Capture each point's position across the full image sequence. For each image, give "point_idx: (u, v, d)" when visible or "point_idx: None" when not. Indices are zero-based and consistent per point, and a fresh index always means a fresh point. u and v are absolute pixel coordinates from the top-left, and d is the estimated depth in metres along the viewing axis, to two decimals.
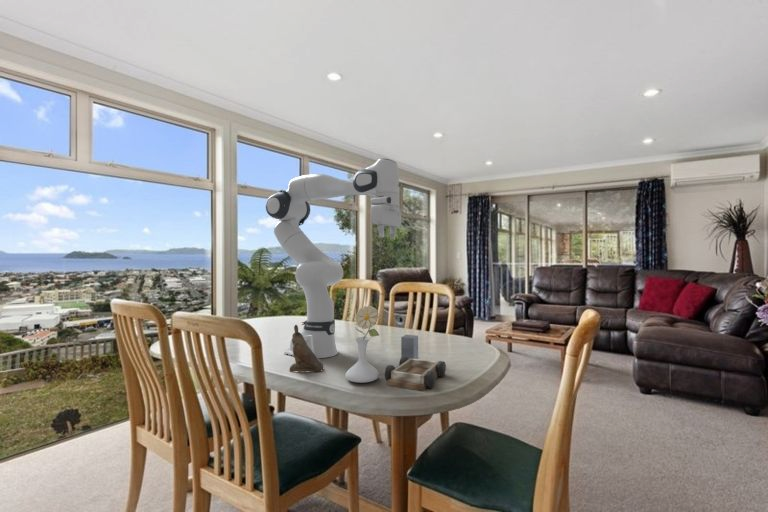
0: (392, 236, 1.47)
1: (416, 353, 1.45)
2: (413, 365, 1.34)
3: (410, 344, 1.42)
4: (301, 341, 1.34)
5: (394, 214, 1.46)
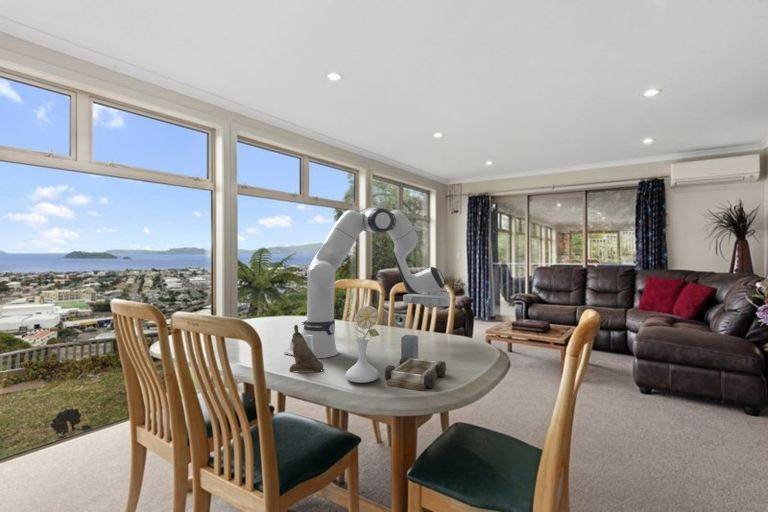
0: (412, 301, 1.58)
1: (416, 353, 1.45)
2: (413, 365, 1.34)
3: (410, 344, 1.42)
4: (301, 341, 1.34)
5: None
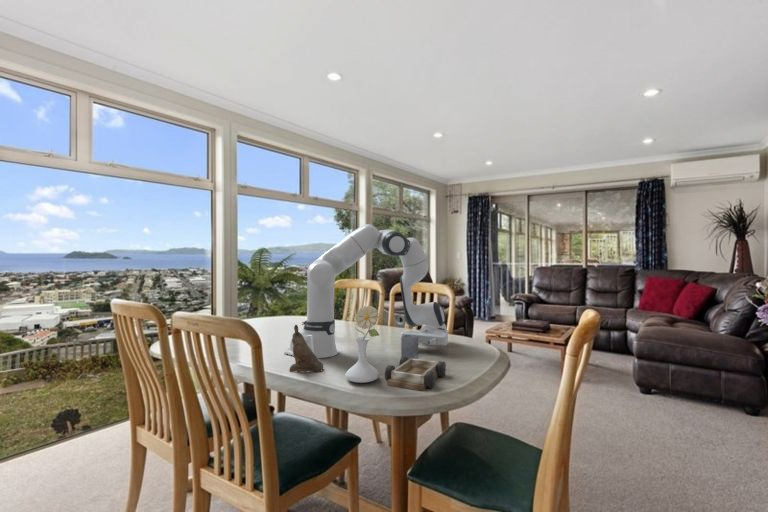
0: None
1: (416, 353, 1.45)
2: (413, 365, 1.34)
3: (410, 344, 1.42)
4: (301, 341, 1.34)
5: None
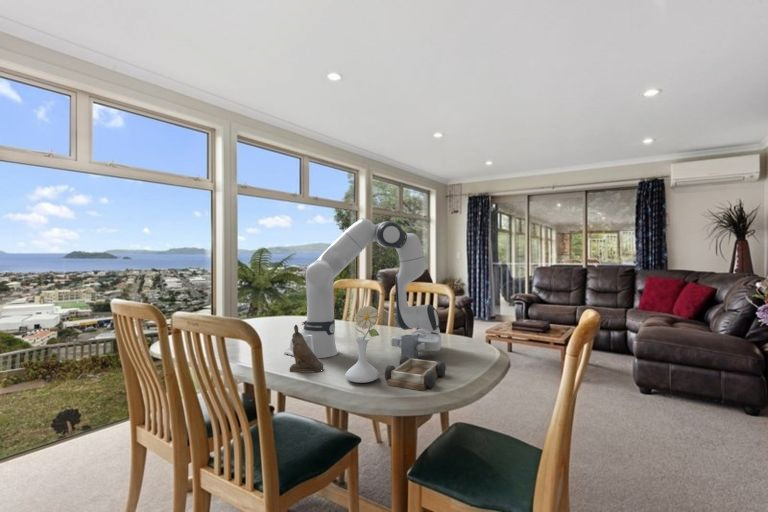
0: None
1: (416, 353, 1.45)
2: (413, 365, 1.34)
3: (410, 344, 1.42)
4: (301, 341, 1.34)
5: None
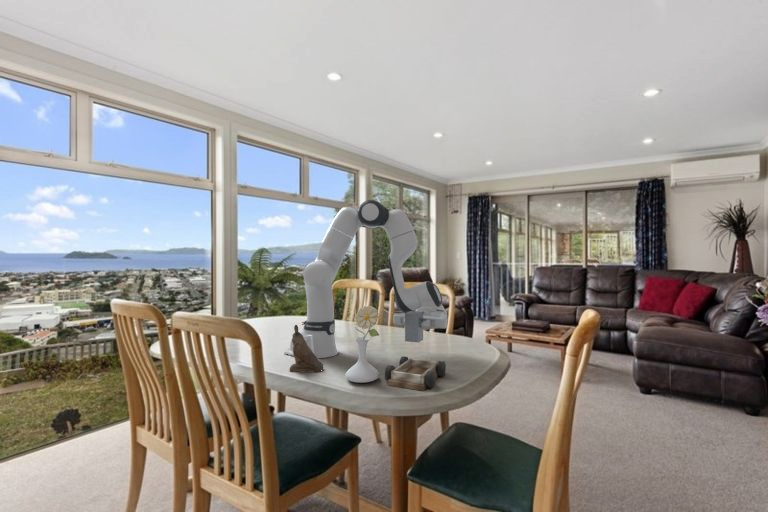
0: None
1: (421, 330, 1.34)
2: (413, 365, 1.34)
3: (415, 321, 1.31)
4: (301, 341, 1.34)
5: None
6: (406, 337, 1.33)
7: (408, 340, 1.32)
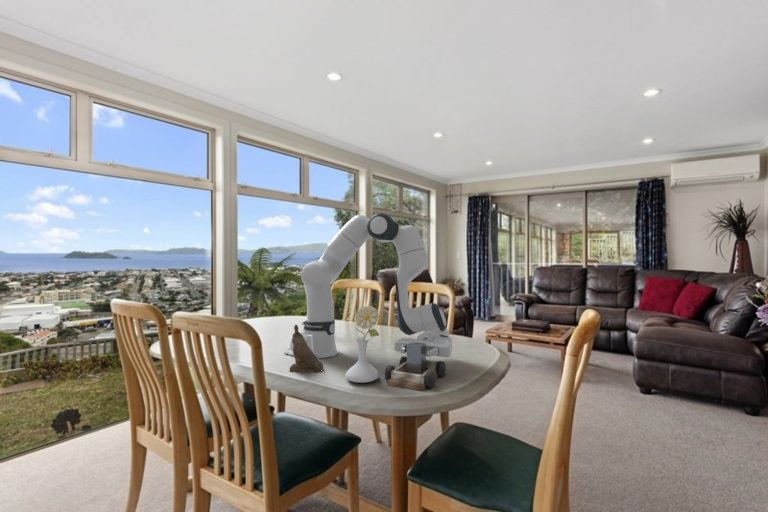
0: (404, 351, 1.27)
1: (424, 363, 1.26)
2: None
3: (417, 354, 1.23)
4: (301, 341, 1.34)
5: None
6: (408, 371, 1.25)
7: None
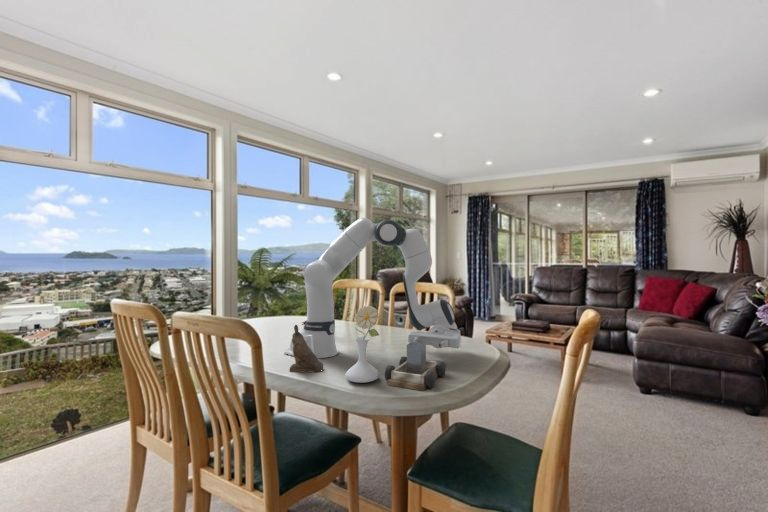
0: None
1: (424, 363, 1.26)
2: None
3: (417, 354, 1.23)
4: (301, 341, 1.34)
5: None
6: (408, 371, 1.25)
7: None
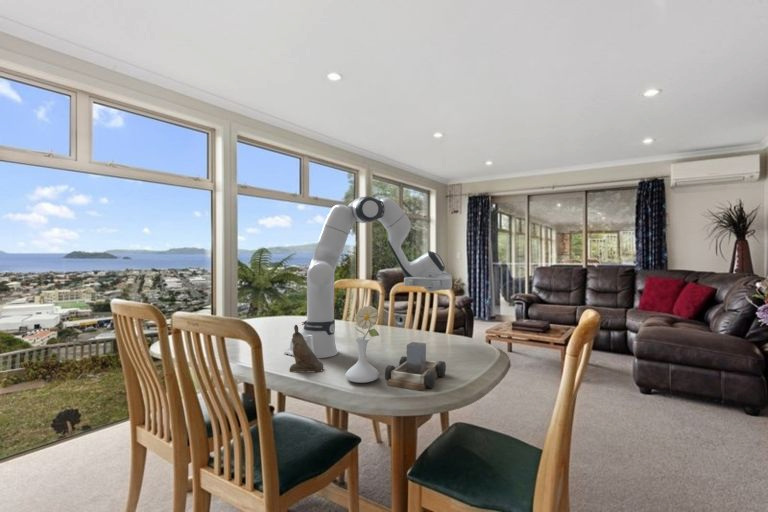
0: (413, 283, 1.54)
1: (424, 363, 1.26)
2: None
3: (417, 354, 1.23)
4: (301, 341, 1.34)
5: None
6: (408, 371, 1.25)
7: None
